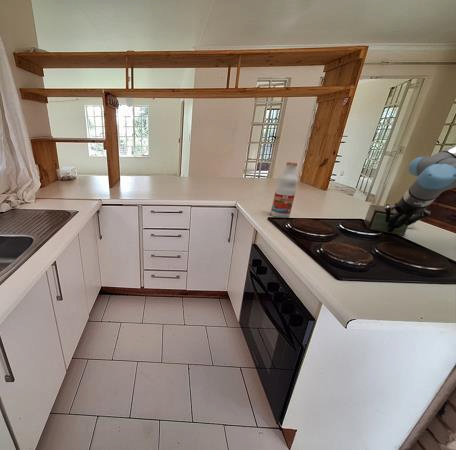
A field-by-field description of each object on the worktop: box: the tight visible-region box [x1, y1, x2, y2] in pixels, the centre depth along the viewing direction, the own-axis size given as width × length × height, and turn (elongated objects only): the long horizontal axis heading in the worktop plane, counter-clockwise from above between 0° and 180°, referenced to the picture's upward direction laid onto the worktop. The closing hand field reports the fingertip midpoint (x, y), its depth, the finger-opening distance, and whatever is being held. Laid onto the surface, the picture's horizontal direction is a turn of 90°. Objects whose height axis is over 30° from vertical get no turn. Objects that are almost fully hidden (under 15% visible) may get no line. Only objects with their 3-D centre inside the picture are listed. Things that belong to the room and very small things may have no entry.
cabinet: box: [363, 203, 405, 237], centre depth 113 cm, size 15×13×10 cm
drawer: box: [370, 212, 409, 236], centre depth 110 cm, size 15×11×8 cm
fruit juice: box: [270, 161, 299, 219], centre depth 123 cm, size 9×9×28 cm
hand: (389, 229), depth 104 cm, fingers closed
